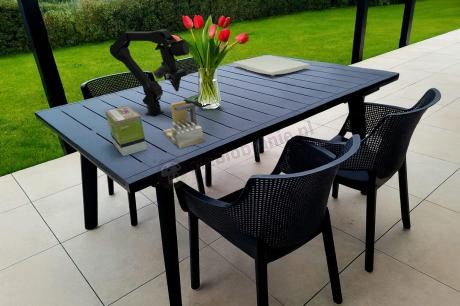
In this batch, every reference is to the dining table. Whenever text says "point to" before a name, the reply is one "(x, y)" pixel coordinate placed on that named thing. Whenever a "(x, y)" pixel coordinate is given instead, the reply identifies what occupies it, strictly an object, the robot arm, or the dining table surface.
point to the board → (271, 65)
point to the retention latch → (178, 115)
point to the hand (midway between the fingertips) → (177, 91)
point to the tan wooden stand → (185, 129)
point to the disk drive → (194, 101)
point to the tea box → (126, 130)
